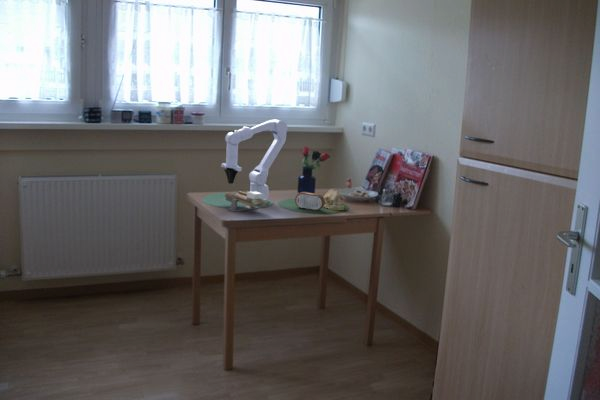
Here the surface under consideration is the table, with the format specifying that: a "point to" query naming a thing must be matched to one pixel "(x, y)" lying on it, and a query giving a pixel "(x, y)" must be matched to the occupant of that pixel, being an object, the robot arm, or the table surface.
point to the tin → (309, 201)
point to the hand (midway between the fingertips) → (230, 183)
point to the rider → (254, 195)
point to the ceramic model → (333, 200)
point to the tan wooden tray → (245, 199)
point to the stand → (235, 208)
